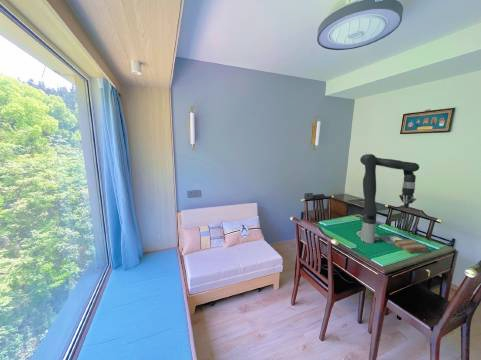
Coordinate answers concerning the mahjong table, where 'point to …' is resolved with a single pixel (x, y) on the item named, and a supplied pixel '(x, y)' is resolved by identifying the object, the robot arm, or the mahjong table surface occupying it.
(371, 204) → the robot arm
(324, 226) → the mahjong table surface
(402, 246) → the deck
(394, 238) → the card
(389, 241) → the mat
